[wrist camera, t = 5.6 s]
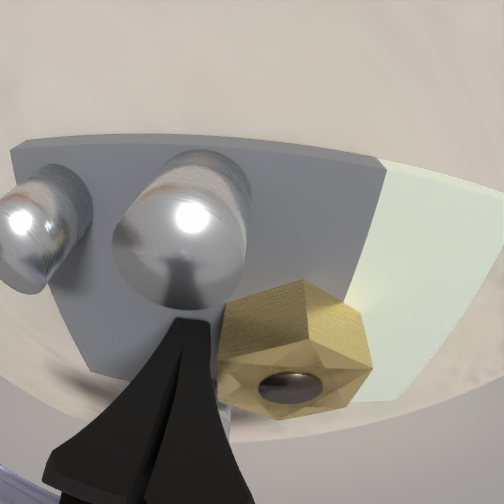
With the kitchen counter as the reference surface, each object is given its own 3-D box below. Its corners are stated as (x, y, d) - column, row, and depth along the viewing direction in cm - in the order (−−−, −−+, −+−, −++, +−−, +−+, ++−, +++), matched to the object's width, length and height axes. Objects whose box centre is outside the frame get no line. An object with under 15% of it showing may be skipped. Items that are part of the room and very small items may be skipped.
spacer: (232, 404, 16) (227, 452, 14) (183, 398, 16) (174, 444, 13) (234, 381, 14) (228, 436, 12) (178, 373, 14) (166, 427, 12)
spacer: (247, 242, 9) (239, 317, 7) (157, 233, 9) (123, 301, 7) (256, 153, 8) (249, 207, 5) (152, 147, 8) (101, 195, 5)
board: (392, 386, 16) (395, 399, 15) (96, 358, 16) (90, 371, 15) (506, 193, 9) (520, 206, 8) (26, 140, 8) (9, 150, 8)
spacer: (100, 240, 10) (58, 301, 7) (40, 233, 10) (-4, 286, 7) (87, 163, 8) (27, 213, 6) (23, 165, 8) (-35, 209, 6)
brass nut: (330, 374, 14) (335, 422, 11) (224, 367, 14) (217, 416, 11) (373, 284, 10) (391, 343, 8) (227, 271, 10) (216, 333, 8)
